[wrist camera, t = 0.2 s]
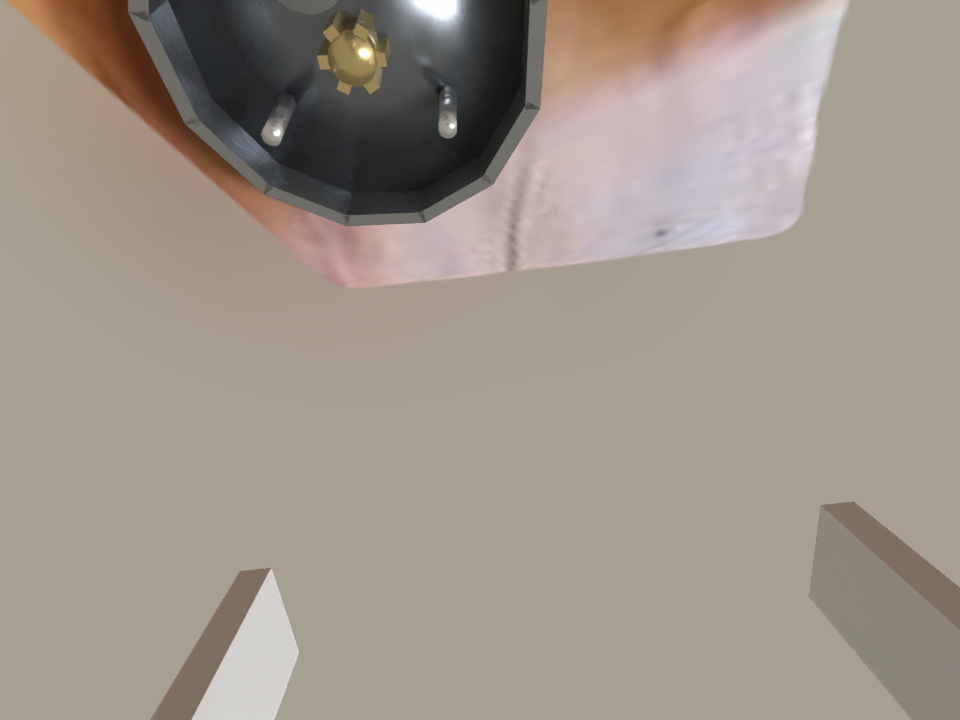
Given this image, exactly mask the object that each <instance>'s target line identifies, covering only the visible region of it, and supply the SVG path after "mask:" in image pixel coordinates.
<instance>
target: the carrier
mask: <svg viewBox="0 0 960 720" xmlns="http://www.w3.org/2000/svg"><path fill="white" fill-rule="evenodd" d="M547 1H548V0H128V13H129V15H130V17H131V19H132V21H133V23H134V25H135V27H136V29H137V31H138V33H139V35H140V37H141V39H142V41H143V42H144V44H145V46H146V48H147V50H148V52H149V54H150V56H151V58H152V60H153V62H154V64H155V66H156V68H157V70H158V72H159V74H160V76H161V78H162V80H163V82H164V84H165V86H166V88H167V90H168V91H169V93H170V95H171V97H172V99H173V101H174V103H175V105H176V107H177V109H178V111H179V113H180V115H181V117H182V119H183V121H184V123H185V124H186V125H187V126H188V127H189V128H190V129H191V130H192V131H193V132H194V133H196V134H197V135H198V136H199V137H200V138H201V139H202V140H203V141H205V142H206V143H207V144H208V145H209V146H210V147H211V148H212V149H214V150H215V151H216V152H217V153H218V154H219V155H220V156H221V157H222V158H224V159H225V160H226V161H227V162H228V163H229V164H230V165H231V166H233V167H234V168H235V169H236V170H237V171H238V172H239V173H240V174H241V175H243V176H244V177H245V178H246V179H247V180H248V181H249V182H250V183H252V184H253V185H254V186H255V187H256V188H257V189H258V190H259V191H261V192H262V193H263V194H264V195H266V196H269V197H272V198H274V199H277V200H280V201H282V202H285V203H287V204H290V205H293V206H295V207H298V208H301V209H303V210H306V211H308V212H311V213H314V214H316V215H319V216H322V217H324V218H327V219H329V220H332V221H335V222H337V223H340V224H343V225H345V226H360V225H384V224H407V223H426V222H427V221H429V220H431V219H433V218H434V217H436V216H438V215H440V214H442V213H443V212H445V211H447V210H449V209H450V208H452V207H454V206H456V205H458V204H459V203H461V202H463V201H465V200H466V199H468V198H470V197H472V196H474V195H475V194H477V193H479V192H481V191H482V190H484V189H486V188H488V187H490V186H491V185H493V184H494V182H495V180H496V179H497V177H498V176H499V174H500V172H501V171H502V169H503V168H504V166H505V164H506V163H507V161H508V160H509V158H510V156H511V155H512V153H513V151H514V150H515V148H516V147H517V145H518V143H519V142H520V140H521V139H522V137H523V135H524V134H525V132H526V131H527V129H528V127H529V126H530V124H531V122H532V121H533V119H534V118H535V116H536V114H537V113H538V111H539V110H540V102H541V87H542V73H543V59H544V44H545V30H546V16H547Z"/></svg>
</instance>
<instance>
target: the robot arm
mask: <svg viewBox="0 0 960 720" xmlns="http://www.w3.org/2000/svg"><path fill="white" fill-rule="evenodd" d="M809 597H810V599H811V600H812V601H813V602H814V603H815V604H816V606H817V607H818V608H819V609H820V610H821V612H822V613H823V614H824V615H825V616H826V618H827V619H828V620H829V621H830V622H831V624H832V625H833V626H834V627H835V628H836V630H837V631H838V632H839V633H840V634H841V635H842V637H843V638H844V639H845V640H846V641H847V643H848V644H849V645H850V646H851V648H852V649H853V650H854V651H855V652H856V654H857V655H858V656H859V657H860V658H861V659H862V661H863V662H864V663H865V664H866V666H867V667H868V668H869V669H870V670H871V671H872V673H873V674H874V675H875V676H876V677H877V679H878V680H879V681H880V682H881V683H882V685H883V686H884V687H885V688H886V689H887V691H888V692H889V693H890V694H891V695H892V697H893V698H894V699H895V700H896V701H897V703H898V704H899V705H900V706H901V707H902V709H903V710H904V711H905V712H906V713H907V715H908V716H909V717H910V718H911V719H912V720H960V587H958V586H957V585H956V584H955V583H953V582H952V581H951V580H950V579H949V578H947V577H946V576H945V575H944V574H942V573H941V572H940V571H939V570H937V569H936V568H935V567H934V566H933V565H931V564H930V563H929V562H928V561H926V560H925V559H924V558H923V557H921V556H920V555H919V554H918V553H916V552H915V551H914V550H913V549H912V548H910V547H909V546H908V545H907V544H905V543H904V542H903V541H902V540H900V539H899V538H898V537H897V536H895V535H894V534H893V533H892V532H891V531H889V530H888V529H887V528H886V527H884V526H883V525H882V524H881V523H879V522H878V521H877V520H876V519H874V518H873V517H872V516H871V515H869V514H868V513H867V512H866V511H865V510H863V509H862V508H861V507H860V506H858V505H857V504H856V503H855V502H846V503H837V504H828V505H821V507H820V514H819V523H818V530H817V537H816V545H815V553H814V560H813V568H812V576H811V584H810V592H809ZM298 654H299V651H298V648H297V645H296V642H295V639H294V636H293V633H292V629H291V626H290V624H289V621H288V617H287V614H286V611H285V608H284V605H283V602H282V599H281V596H280V593H279V590H278V587H277V584H276V581H275V578H274V575H273V572H272V569H271V568H265V569H256V570H247V571H240V572H239V574H238V575H237V577H236V579H235V580H234V582H233V584H232V585H231V587H230V589H229V590H228V592H227V594H226V595H225V597H224V599H223V600H222V602H221V604H220V606H219V607H218V609H217V610H216V612H215V614H214V615H213V617H212V619H211V620H210V622H209V624H208V625H207V627H206V629H205V630H204V632H203V633H202V635H201V637H200V639H199V640H198V642H197V643H196V645H195V647H194V648H193V650H192V652H191V653H190V655H189V657H188V658H187V660H186V662H185V663H184V665H183V667H182V668H181V670H180V672H179V673H178V675H177V677H176V678H175V680H174V682H173V683H172V685H171V687H170V688H169V690H168V692H167V693H166V695H165V696H164V699H163V700H162V702H161V703H160V705H159V706H158V708H157V710H156V711H155V713H154V715H153V716H152V718H151V720H274V719H275V716H276V714H277V711H278V708H279V706H280V703H281V700H282V697H283V695H284V692H285V689H286V686H287V684H288V681H289V678H290V676H291V673H292V670H293V667H294V665H295V662H296V659H297V657H298Z"/></svg>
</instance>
